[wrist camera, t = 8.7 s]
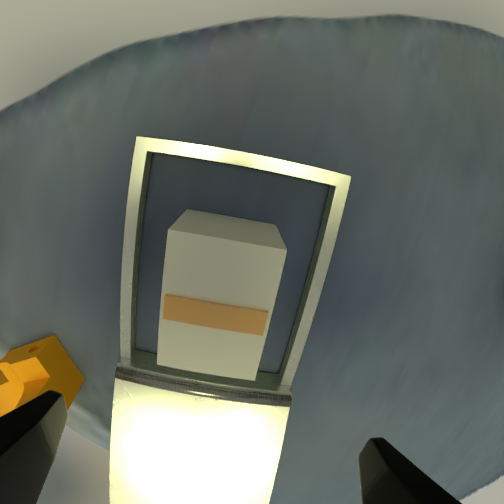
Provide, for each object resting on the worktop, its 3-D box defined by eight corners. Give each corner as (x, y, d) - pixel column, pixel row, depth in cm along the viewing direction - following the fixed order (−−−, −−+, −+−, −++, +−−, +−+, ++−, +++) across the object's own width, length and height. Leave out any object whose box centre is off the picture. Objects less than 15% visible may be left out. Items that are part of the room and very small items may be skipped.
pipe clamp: (55, 333, 20) (13, 384, 14) (86, 377, 21) (54, 434, 15) (-17, 358, 21) (-51, 396, 15) (8, 394, 22) (-21, 434, 16)
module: (275, 224, 18) (287, 251, 13) (251, 330, 20) (254, 383, 15) (187, 208, 18) (167, 230, 13) (174, 317, 20) (155, 366, 15)
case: (344, 174, 17) (431, 198, 9) (251, 475, 25) (254, 554, 16) (143, 137, 16) (57, 128, 8) (132, 456, 24) (111, 532, 15)
